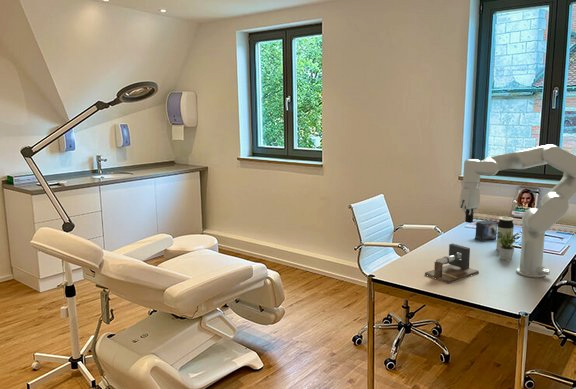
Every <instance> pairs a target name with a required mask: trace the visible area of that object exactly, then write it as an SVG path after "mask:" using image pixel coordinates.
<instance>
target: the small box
mask: <svg viewBox="0 0 576 389" xmlns="http://www.w3.org/2000/svg"><path fill="white" fill-rule="evenodd" d="M475 224H476V225H475V235H474V239H476V240H479V241H481V242H483V241H492V240H494V241H495V240H497V230H498V222H496V221H494V220H491V219H490V220H478V221H476V223H475Z"/></svg>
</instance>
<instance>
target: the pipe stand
mask: <svg viewBox="0 0 576 389" xmlns="http://www.w3.org/2000/svg"><path fill="white" fill-rule="evenodd" d="M461 255H462V253H458V252H457V254H454V255H450V256H449V255H447V256H443V257H440V258H437V259H436V260H435V261H434V267H433V268H434V269H433V270H429V271H426V272H425V273H424V276H427V275H428V276H427V277H429V276H431V277H430V278H432V277H434V278H433V279H435V278H436V279H435V280H438V279H439V280H438V281H441V282H444V283H446V282H447V283H446V284H451V283H454V282H457V281H460V280H463V279H466V278H469V277H472V276H475V275H478V274H479V271H480V270H477V269H474V268H471V267H469V268H468V269H463V268H460V267H457V266H454V265H451V264H449V262H453V261H456V260H461ZM447 264H448V265H447ZM443 265H445V266H443ZM477 273H478V274H477ZM474 274H475V275H474ZM471 275H472V276H471Z"/></svg>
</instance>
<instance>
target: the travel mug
mask: <svg viewBox="0 0 576 389" xmlns="http://www.w3.org/2000/svg"><path fill="white" fill-rule="evenodd" d="M514 219H515V218H513V217H510V216H499V217H498V222H497V235H496V240H501V238H500V236H501V235H500V233H499V232H498V230H499V231H500V232H501V233H502V235H503V237H504V235H505V238H506V230H507V233H508V232H509V231H510V229H511V236H512V237H513V235H514V226H515V224H514V222H513V221H514ZM498 234H499V235H500V236H499V235H498ZM512 237H510V239H511V238H512ZM513 245H514V243H512V244H511V245H510V246H512V247H513ZM500 246H502V244H501V243H500V242H498V241H496V251H497V250H498V251H499V252H500Z"/></svg>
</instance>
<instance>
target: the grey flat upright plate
mask: <svg viewBox="0 0 576 389" xmlns="http://www.w3.org/2000/svg"><path fill="white" fill-rule="evenodd" d="M448 246H449V248H448V256H450V255H454V254H457V253H462V255H461V259H459V260H456V261H453V262H449V263H448V265H454V266H457V267H460V268H463V269H468V268H470V256H471V255H470V252H471V248H470V247H467V246H463V245H460V244H455V243H449V245H448Z"/></svg>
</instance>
